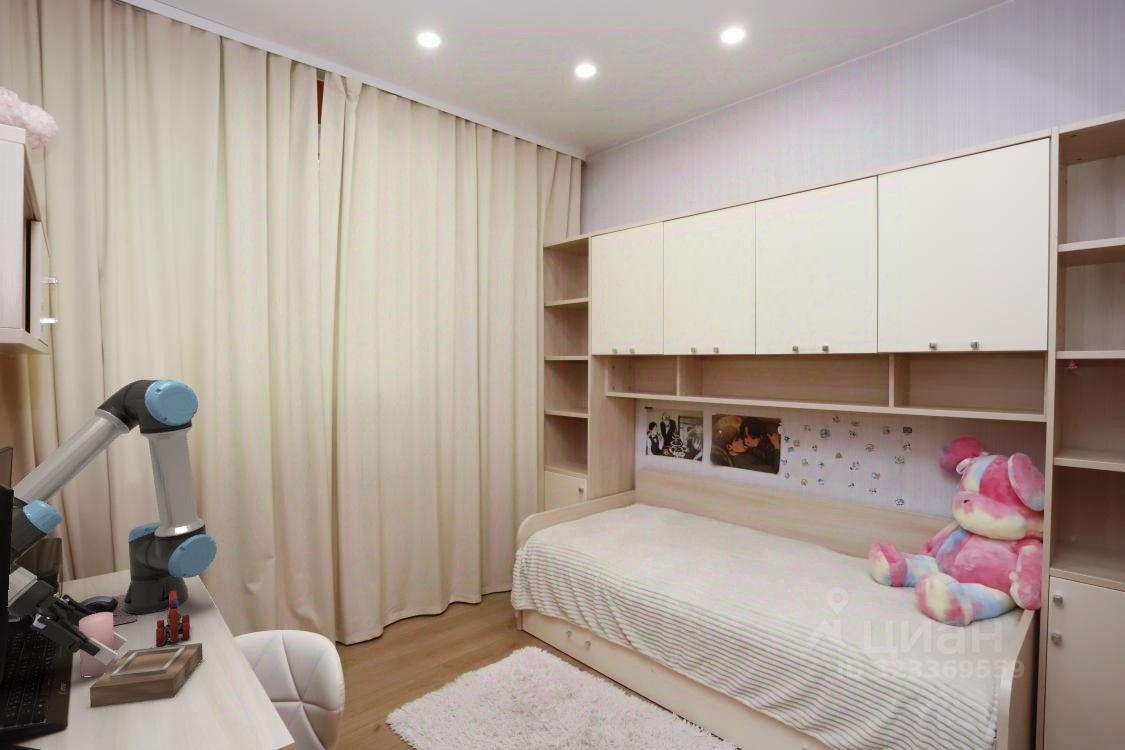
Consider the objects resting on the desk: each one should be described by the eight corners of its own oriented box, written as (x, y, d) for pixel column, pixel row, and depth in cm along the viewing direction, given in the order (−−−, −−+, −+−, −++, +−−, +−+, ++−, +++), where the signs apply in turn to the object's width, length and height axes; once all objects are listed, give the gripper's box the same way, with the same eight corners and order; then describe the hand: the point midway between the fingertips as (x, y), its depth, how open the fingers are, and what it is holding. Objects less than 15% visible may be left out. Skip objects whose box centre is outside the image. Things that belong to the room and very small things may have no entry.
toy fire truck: (156, 652, 138) (154, 609, 137) (157, 632, 148) (156, 592, 147) (190, 644, 141) (189, 602, 141) (189, 624, 152) (188, 585, 151)
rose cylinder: (90, 664, 132) (88, 613, 132) (120, 661, 133) (118, 610, 133) (74, 679, 126) (72, 625, 126) (105, 675, 128) (103, 622, 127)
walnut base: (129, 667, 131) (128, 646, 131) (202, 659, 134) (202, 639, 134) (90, 707, 116) (89, 683, 116) (173, 697, 119) (172, 674, 119)
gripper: (28, 591, 132) (117, 646, 139) (-18, 626, 115) (87, 688, 121) (56, 564, 134) (143, 620, 141) (15, 596, 116) (116, 658, 123)
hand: (117, 652), depth 131 cm, fingers closed on rose cylinder, 6 cm apart
